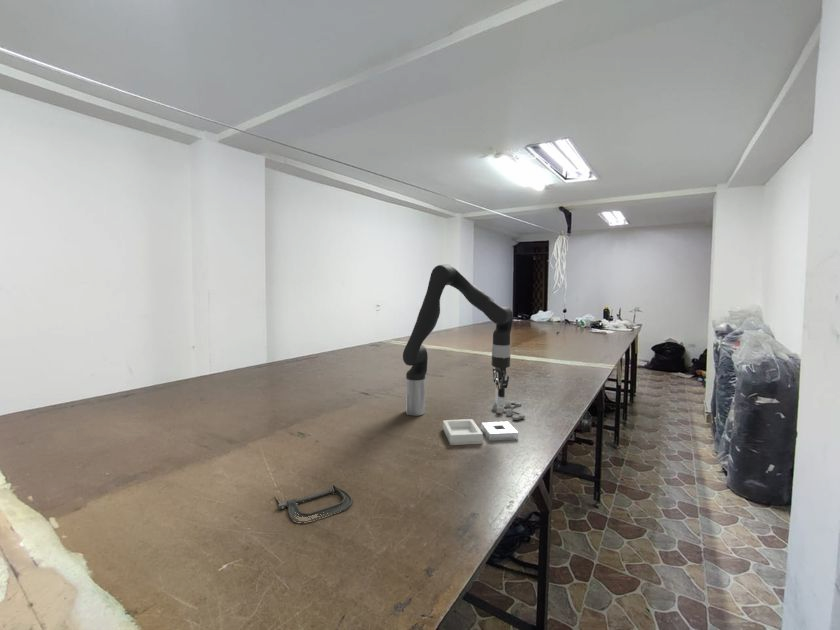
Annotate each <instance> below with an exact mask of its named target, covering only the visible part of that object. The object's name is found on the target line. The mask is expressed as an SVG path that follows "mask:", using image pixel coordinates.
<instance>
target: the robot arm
mask: <svg viewBox="0 0 840 630" xmlns="http://www.w3.org/2000/svg"><path fill="white" fill-rule="evenodd" d="M446 286H450V287H452V288H455V289H456V290H457V291H459V292H460V293H461V294H462V295H463V296H464V297H465V299H466V300H467V302H469V304H471V305H472V306H474V307H475V308H476V309H477V310H479V311H481V312H482V313H483V315H485V316H486V318H487V319H489V320H490V321H491V322H492V323H494V324H495V330H494V331H493V332H492V333H493V334H492V347H491V366H492V367H493V368H492V377H493V382H494V385H495V386H496V384H499V397H504V395H506V394H505V393H506V392H505V391H506V389H508V386H509V381H510V380H509V379H510V375H508V374H507V373H508V372H507V368H510V367H511V331H512V327H513V321H514V314H513V311H512V310H511V308H509V307H508V306H501V305H498V304H497V303H496V302H495V301H494V299H493V298H492V297H491V296H490V295H488V294H487V293H485V292H484V291H482V290H481V289H479V288H478V287H477V286H475V285H474V283H472V282H470V281H469V280H468V279H467V278H466V277H464V275H463V274H462V273H460V272H459V270H457V269H456V268H455V267H454V266H453V265H451V264H438V265H436V266H434V267H433V269H432V270H431V273H430V277H429V281H428V285H427V289H426V293H425V296H424V298H423V301H422V304H421V307H420V309H419V312H418V314H417V318H416V321H415V322H414V327H413V329H412V331H411V334H410V337H409V339H408V340H407V343H406V345H405V346H404V349H403V353H402V360H403V362H404V364H405V365H406V366H409V367H410V366H411V367H410V369H409V370H407V372H406V374H405V375H406V376H405V377H406V378H405V381H406V385H405V413H406V415H407V416H416V417H417V416H421V415H422V416H423V415H424V414H426V374H427V371H428V351H427V348H426V347H425V346H424V345H423V343H424V341H425V340H426V339H427V338H428V336H429V335H430V334H431V333H432V332H433V330H434V329H435V327H436V325H437V322H438V320H439V318H440V314H441V297H442V294H443V292H444V290H445V288H446Z"/></svg>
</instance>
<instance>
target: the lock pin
mask: <svg viewBox="0 0 840 630" xmlns="http://www.w3.org/2000/svg"><path fill="white" fill-rule="evenodd" d="M494 389H495V391H494V392H495V396H494V403H496V404H497V405H503V406H505V402H506V401H505V400H506V399H505V395H506V394H505V395H504V397H499V384H496V385H495V388H494Z"/></svg>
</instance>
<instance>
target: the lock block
mask: <svg viewBox="0 0 840 630" xmlns="http://www.w3.org/2000/svg"><path fill="white" fill-rule="evenodd" d="M480 426H481V427H480V430H481V432H482V433H483V435H485V436H486V438H487V440H488V441H490V442H493V441H494V442H495V441H511V440H512V441H513V440H515V439H516V440H519V432H518V430H517V429H516V428H515V427H514V426H513V425H512V424H511V423H510V422H509V421H489V422H481V423H480Z"/></svg>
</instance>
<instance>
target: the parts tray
mask: <svg viewBox="0 0 840 630" xmlns="http://www.w3.org/2000/svg"><path fill="white" fill-rule="evenodd" d="M442 430H443V432H444V434H445V436H446V439H447V440H448V442H449V444H450V446H458V445H460V446H461V445H479V444H480V445H481V444H484V441H483V440H484V432H483V431H482V430H481V428H480V427H479V426H478V425H477V424H476V422H475V420H474V419H473V418H470V419H469V418H468V419H467V418H463V419H447V420H444V419H443V420H442Z"/></svg>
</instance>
